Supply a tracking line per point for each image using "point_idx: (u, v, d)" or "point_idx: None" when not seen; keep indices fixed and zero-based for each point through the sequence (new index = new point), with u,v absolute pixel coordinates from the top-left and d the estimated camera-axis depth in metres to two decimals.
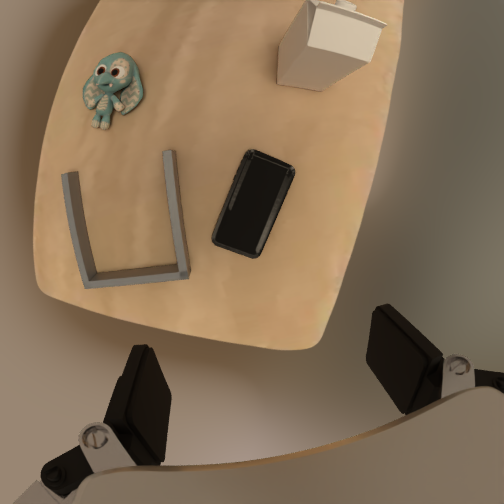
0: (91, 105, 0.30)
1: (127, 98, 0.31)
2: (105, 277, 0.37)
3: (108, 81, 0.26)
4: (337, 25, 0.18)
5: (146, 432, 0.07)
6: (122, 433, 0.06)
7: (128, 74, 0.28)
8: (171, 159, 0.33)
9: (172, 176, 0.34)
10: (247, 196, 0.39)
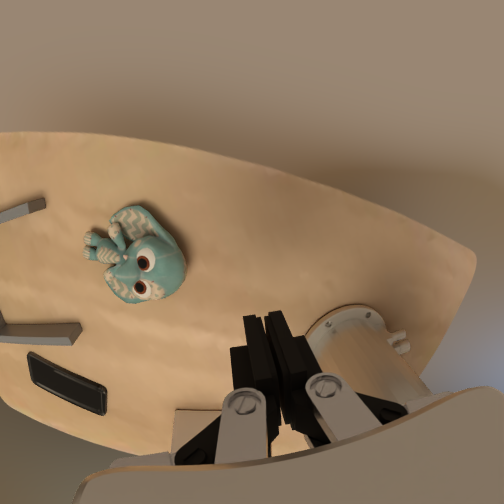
0: (108, 232, 0.24)
1: None
2: None
3: None
4: None
5: None
6: None
7: None
8: (64, 344, 0.26)
9: (51, 344, 0.26)
10: (68, 384, 0.31)
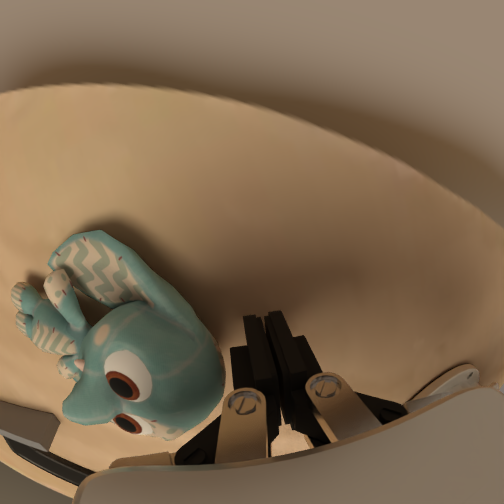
0: (46, 291, 0.09)
1: None
2: None
3: None
4: None
5: None
6: None
7: None
8: (37, 447, 0.11)
9: (20, 441, 0.11)
10: (57, 466, 0.17)
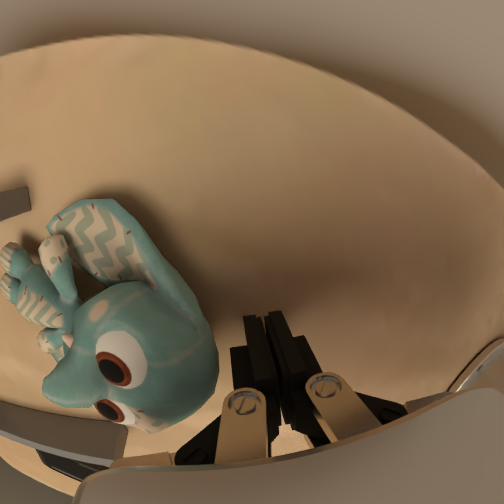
0: (40, 255, 0.09)
1: None
2: None
3: None
4: None
5: None
6: None
7: None
8: (104, 464, 0.12)
9: (78, 459, 0.11)
10: None
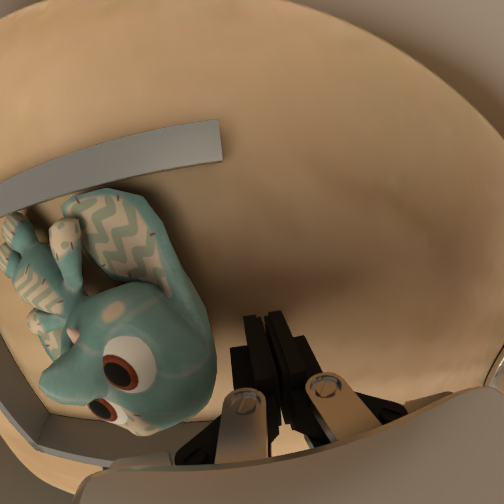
0: (50, 236, 0.08)
1: None
2: None
3: None
4: None
5: None
6: None
7: None
8: None
9: None
10: None
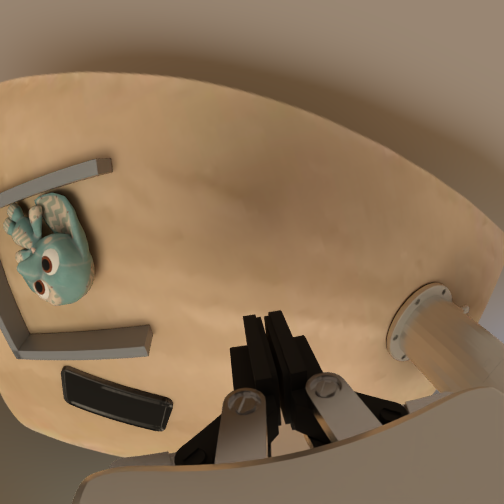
0: (29, 213, 0.17)
1: None
2: None
3: None
4: None
5: None
6: None
7: None
8: (135, 356, 0.22)
9: (114, 357, 0.22)
10: (120, 400, 0.27)
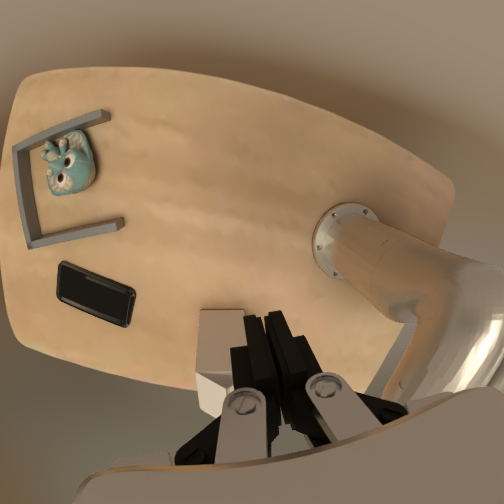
0: (59, 142, 0.30)
1: None
2: (21, 167, 0.29)
3: None
4: (216, 397, 0.28)
5: None
6: None
7: (60, 188, 0.30)
8: (109, 231, 0.34)
9: (95, 233, 0.34)
10: (97, 291, 0.39)
